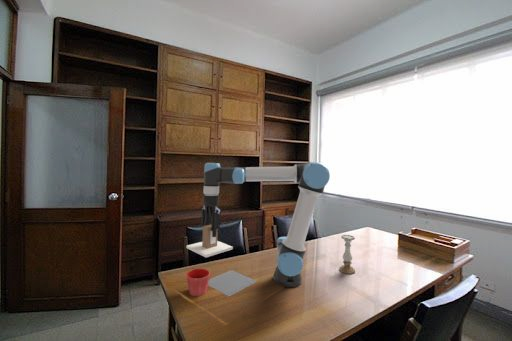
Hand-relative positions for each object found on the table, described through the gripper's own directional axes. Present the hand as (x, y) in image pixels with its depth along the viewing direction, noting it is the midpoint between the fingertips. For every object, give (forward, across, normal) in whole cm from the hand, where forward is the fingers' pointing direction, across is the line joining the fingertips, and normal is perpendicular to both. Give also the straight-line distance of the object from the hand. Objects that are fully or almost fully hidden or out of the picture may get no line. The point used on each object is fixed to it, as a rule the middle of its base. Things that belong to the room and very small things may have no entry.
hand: (209, 241), depth 120 cm
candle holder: (+22, -41, -69) cm, 83 cm away
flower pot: (+24, 0, +6) cm, 25 cm away
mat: (+23, -3, -11) cm, 26 cm away
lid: (+3, 0, 0) cm, 3 cm away
